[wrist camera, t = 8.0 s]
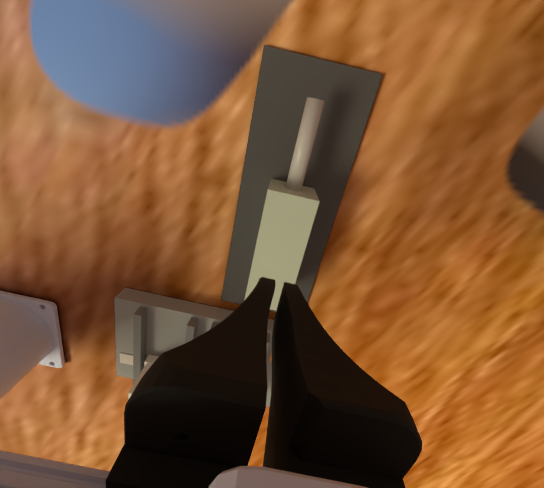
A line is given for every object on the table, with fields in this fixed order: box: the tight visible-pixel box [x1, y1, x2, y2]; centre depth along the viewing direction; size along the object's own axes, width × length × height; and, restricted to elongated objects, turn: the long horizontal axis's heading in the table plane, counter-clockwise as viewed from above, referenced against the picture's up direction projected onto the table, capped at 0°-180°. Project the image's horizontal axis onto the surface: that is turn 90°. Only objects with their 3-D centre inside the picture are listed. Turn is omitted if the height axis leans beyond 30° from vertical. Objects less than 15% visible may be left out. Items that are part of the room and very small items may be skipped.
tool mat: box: [221, 45, 382, 312], centre depth 19 cm, size 7×18×1 cm, turn 168°
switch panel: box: [114, 288, 274, 407], centre depth 24 cm, size 15×9×2 cm, turn 78°
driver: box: [244, 97, 324, 311], centre depth 17 cm, size 3×13×4 cm, turn 168°
